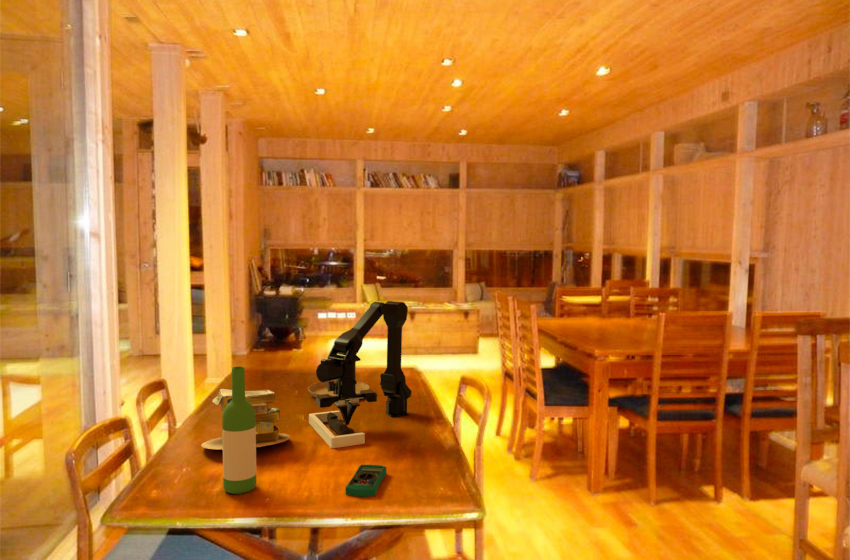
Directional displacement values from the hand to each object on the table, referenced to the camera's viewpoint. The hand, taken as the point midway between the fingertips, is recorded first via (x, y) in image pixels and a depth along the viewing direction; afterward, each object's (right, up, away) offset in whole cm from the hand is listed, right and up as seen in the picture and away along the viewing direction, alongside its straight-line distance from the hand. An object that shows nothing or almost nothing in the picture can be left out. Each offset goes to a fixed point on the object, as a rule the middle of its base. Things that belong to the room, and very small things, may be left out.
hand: (346, 424), depth 190 cm
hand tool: (-3, -3, -1) cm, 4 cm away
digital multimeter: (+10, -5, -41) cm, 43 cm away
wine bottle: (-20, -5, -44) cm, 49 cm away
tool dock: (-3, -2, -1) cm, 4 cm away
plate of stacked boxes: (-28, -3, -14) cm, 31 cm away
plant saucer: (-9, 0, +45) cm, 46 cm away
